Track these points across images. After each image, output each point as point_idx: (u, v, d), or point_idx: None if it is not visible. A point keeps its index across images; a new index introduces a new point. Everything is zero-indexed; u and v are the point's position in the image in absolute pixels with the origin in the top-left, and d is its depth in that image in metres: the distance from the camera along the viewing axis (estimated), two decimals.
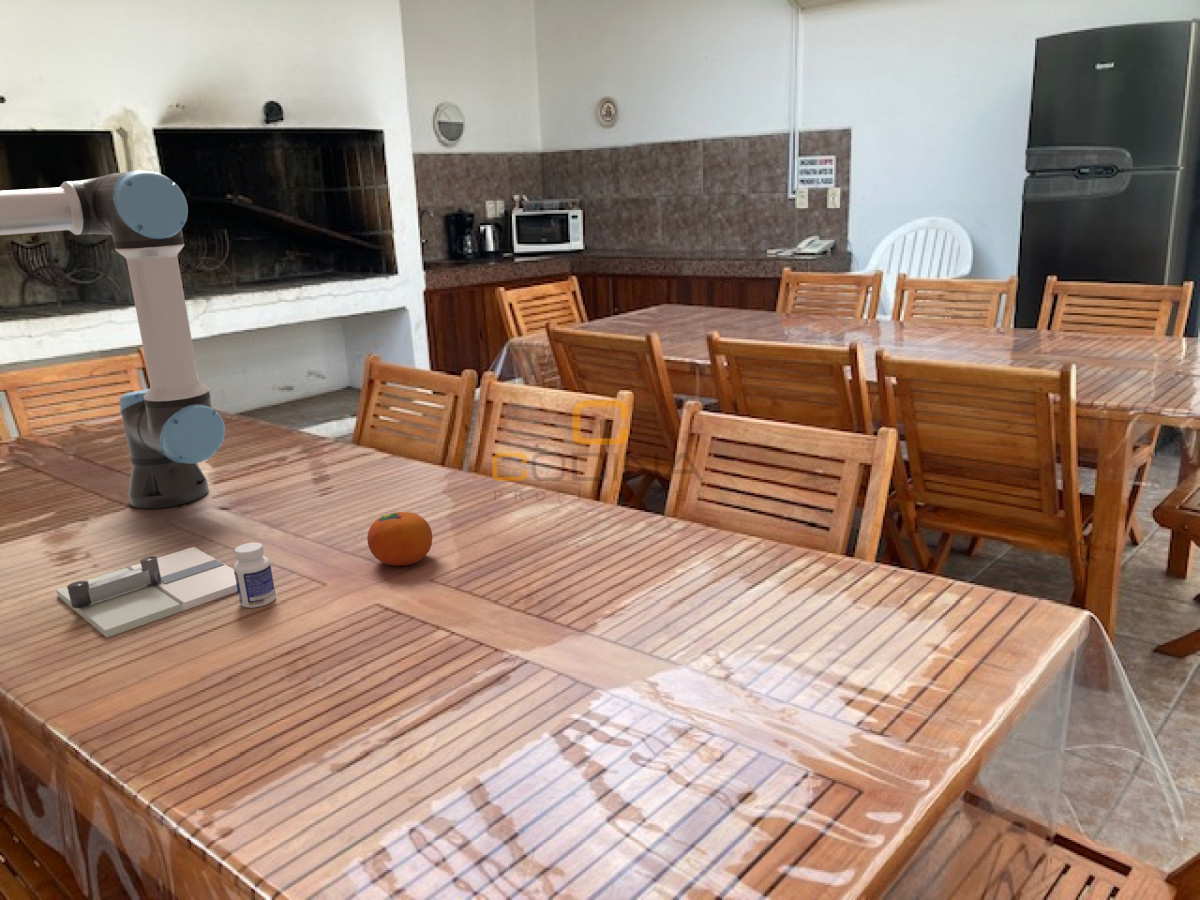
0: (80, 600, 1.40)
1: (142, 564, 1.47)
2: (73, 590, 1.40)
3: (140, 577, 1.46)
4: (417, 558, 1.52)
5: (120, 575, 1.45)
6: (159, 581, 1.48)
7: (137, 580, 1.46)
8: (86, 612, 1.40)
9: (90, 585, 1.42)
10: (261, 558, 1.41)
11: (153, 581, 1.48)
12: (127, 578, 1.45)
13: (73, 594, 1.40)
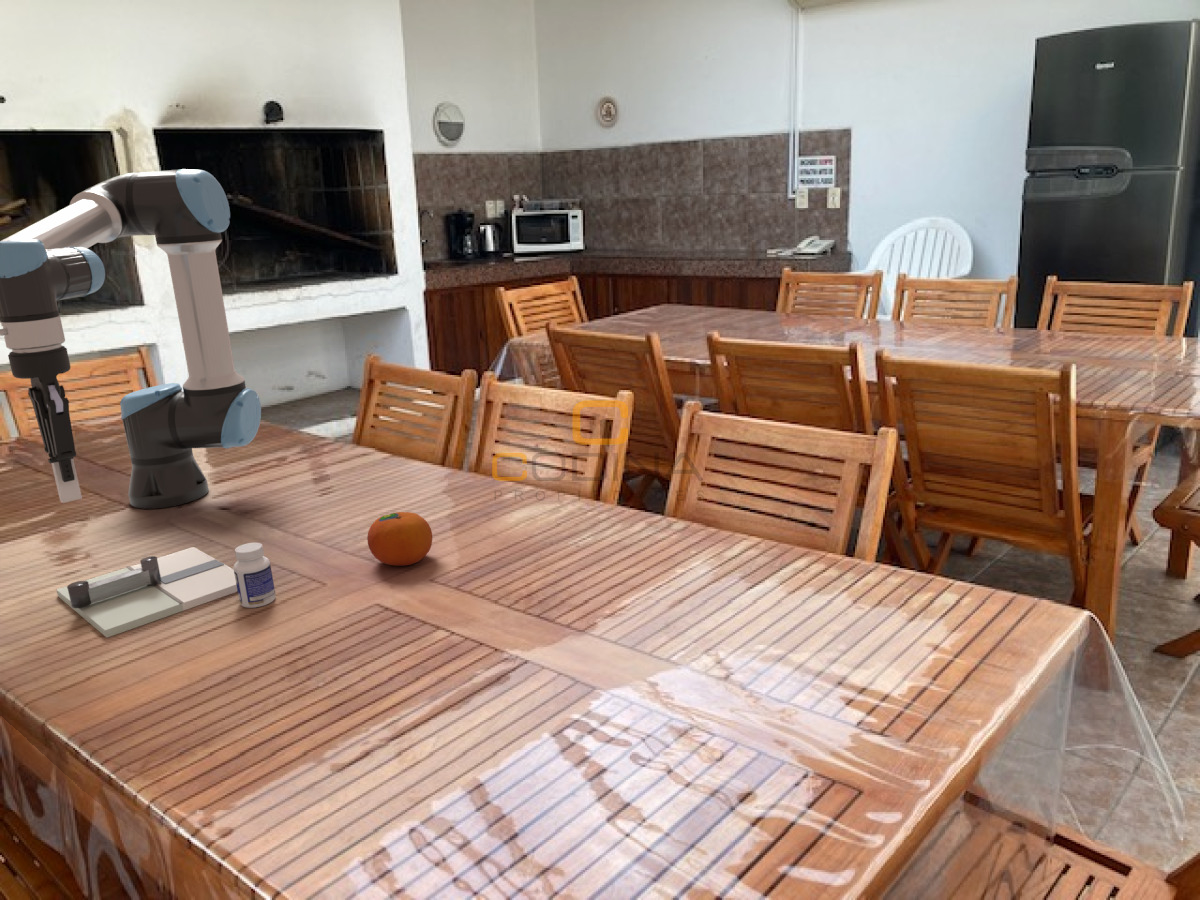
0: (80, 600, 1.40)
1: (142, 564, 1.47)
2: (73, 590, 1.40)
3: (140, 577, 1.46)
4: (417, 558, 1.52)
5: (120, 575, 1.45)
6: (159, 581, 1.48)
7: (137, 580, 1.46)
8: (86, 612, 1.40)
9: (90, 585, 1.42)
10: (261, 558, 1.41)
11: (153, 581, 1.48)
12: (127, 578, 1.45)
13: (73, 594, 1.40)
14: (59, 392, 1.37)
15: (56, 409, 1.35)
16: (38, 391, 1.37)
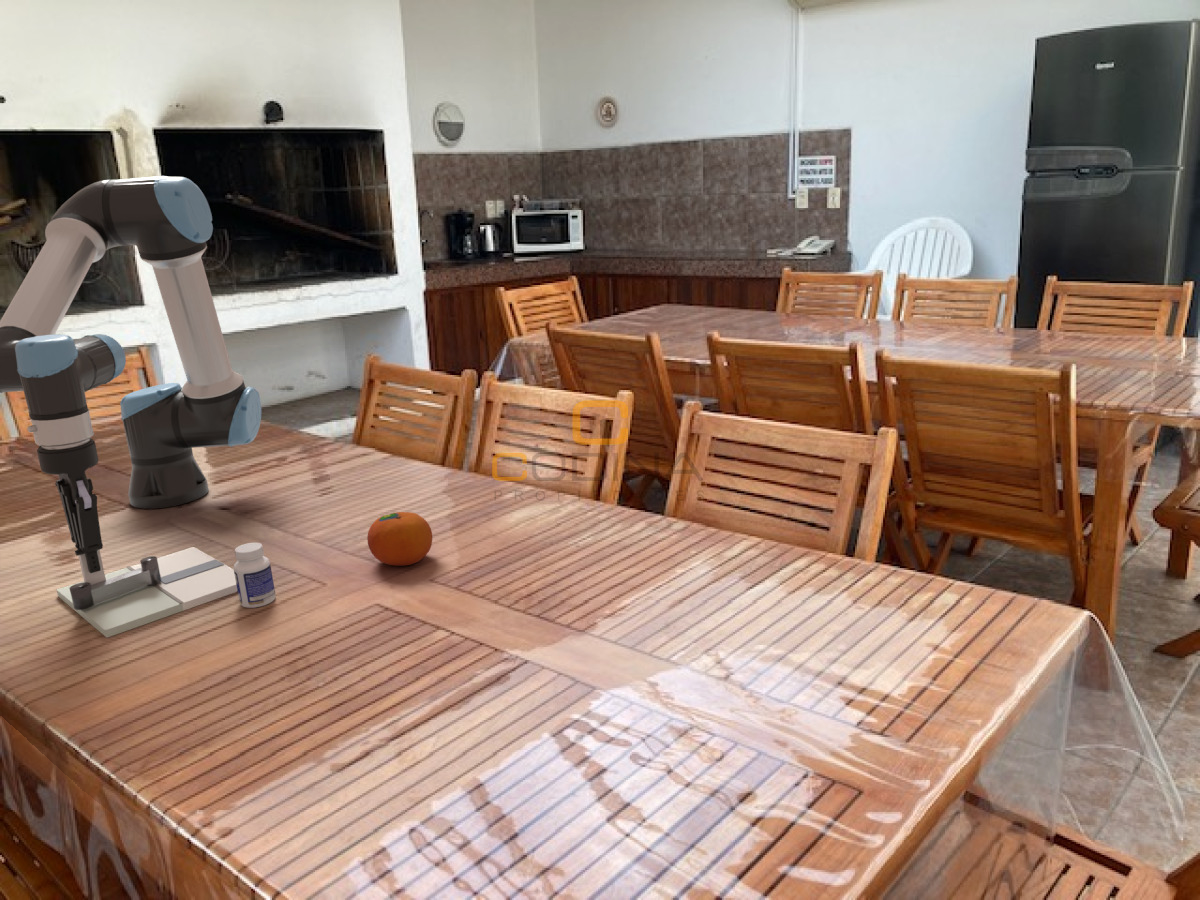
0: (84, 601, 1.40)
1: (142, 564, 1.47)
2: (76, 591, 1.39)
3: (141, 577, 1.46)
4: (417, 558, 1.52)
5: (121, 576, 1.45)
6: (159, 581, 1.49)
7: (138, 580, 1.46)
8: (86, 612, 1.40)
9: (92, 586, 1.42)
10: (261, 558, 1.41)
11: (154, 581, 1.48)
12: (129, 579, 1.45)
13: (76, 596, 1.39)
14: (87, 487, 1.37)
15: (84, 506, 1.35)
16: (66, 486, 1.37)
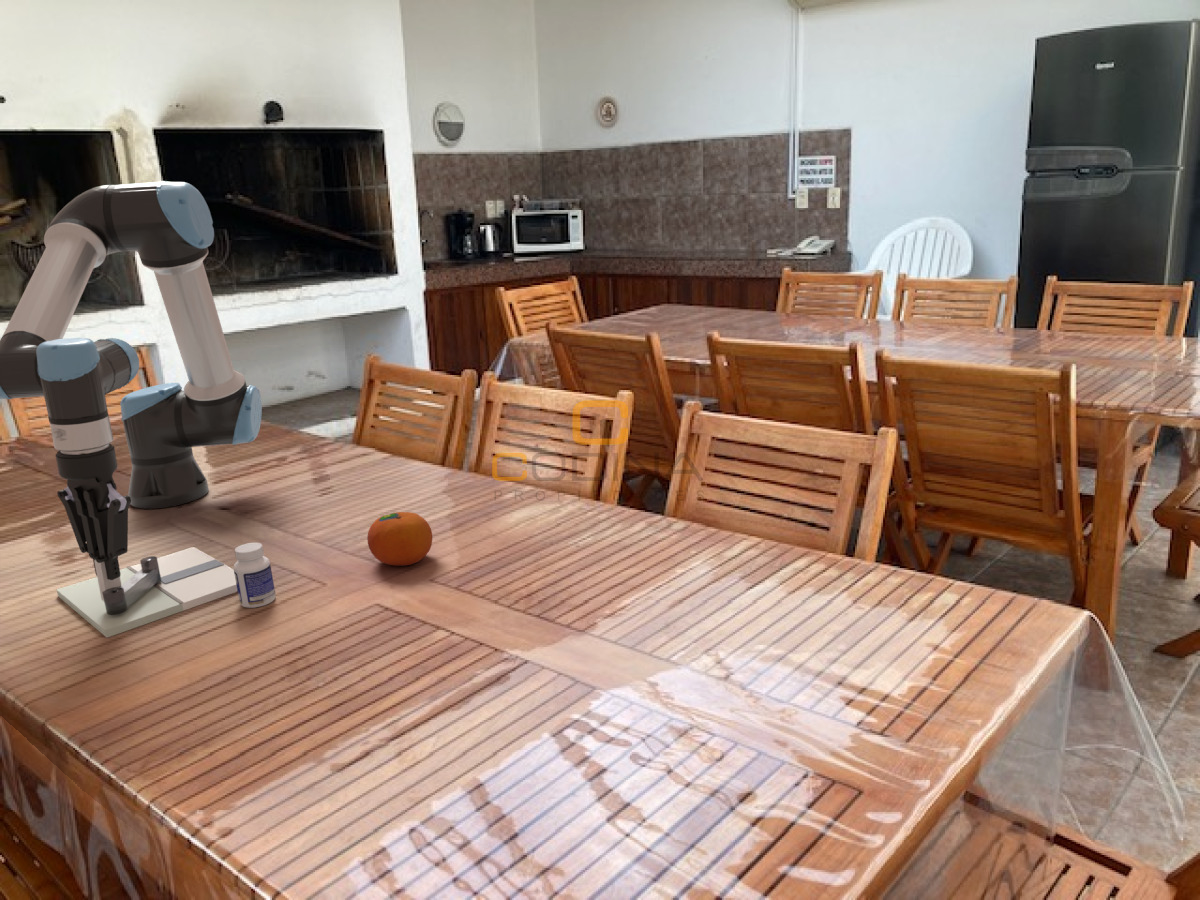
0: (123, 604, 1.38)
1: (147, 564, 1.47)
2: (116, 595, 1.37)
3: (150, 576, 1.46)
4: (417, 558, 1.52)
5: (133, 578, 1.44)
6: None
7: (149, 580, 1.46)
8: (86, 612, 1.40)
9: None
10: (261, 558, 1.41)
11: (158, 579, 1.48)
12: (144, 579, 1.44)
13: (116, 599, 1.37)
14: (115, 490, 1.35)
15: (120, 508, 1.34)
16: (91, 491, 1.34)
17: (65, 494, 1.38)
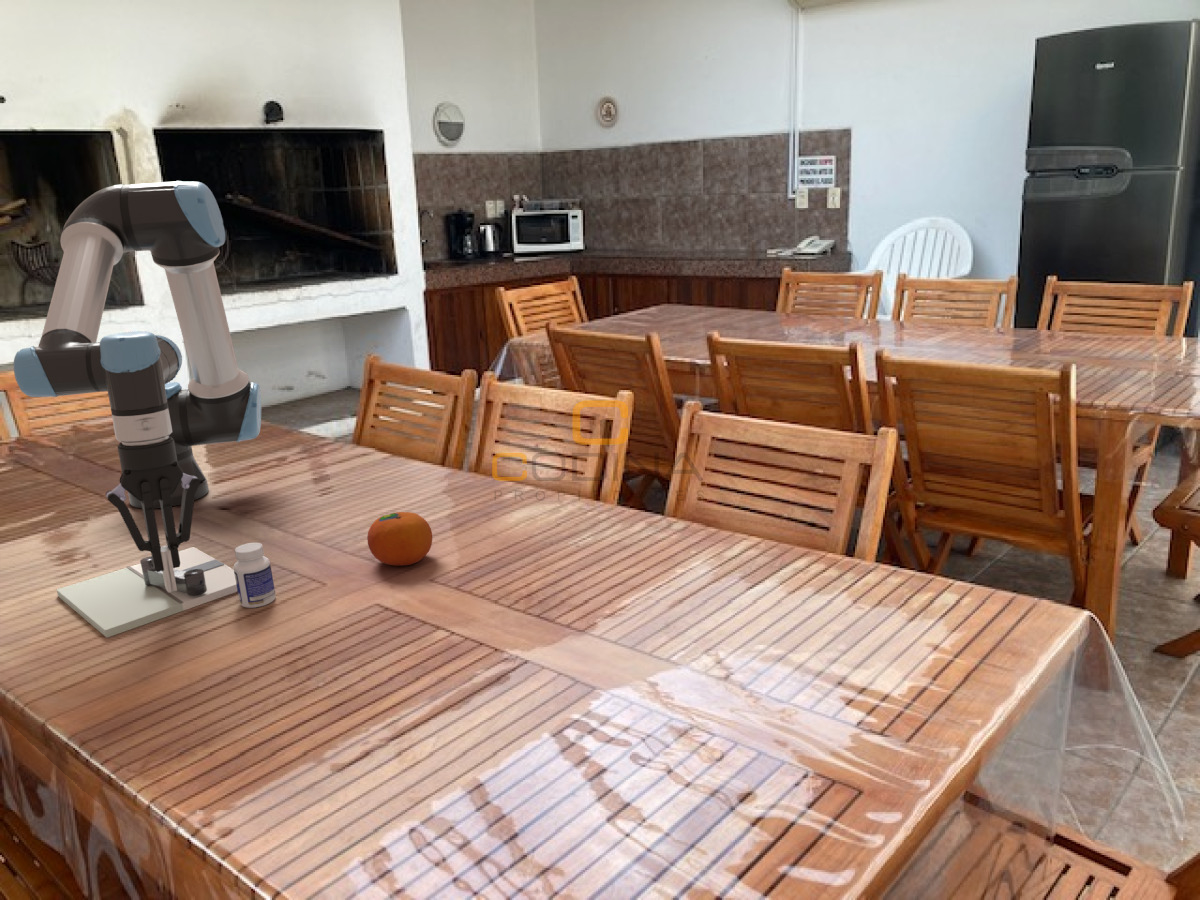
0: None
1: None
2: (203, 573, 1.43)
3: None
4: (417, 558, 1.52)
5: None
6: None
7: None
8: (86, 612, 1.40)
9: None
10: (261, 558, 1.41)
11: None
12: None
13: (204, 577, 1.43)
14: None
15: None
16: (166, 478, 1.38)
17: (117, 496, 1.35)
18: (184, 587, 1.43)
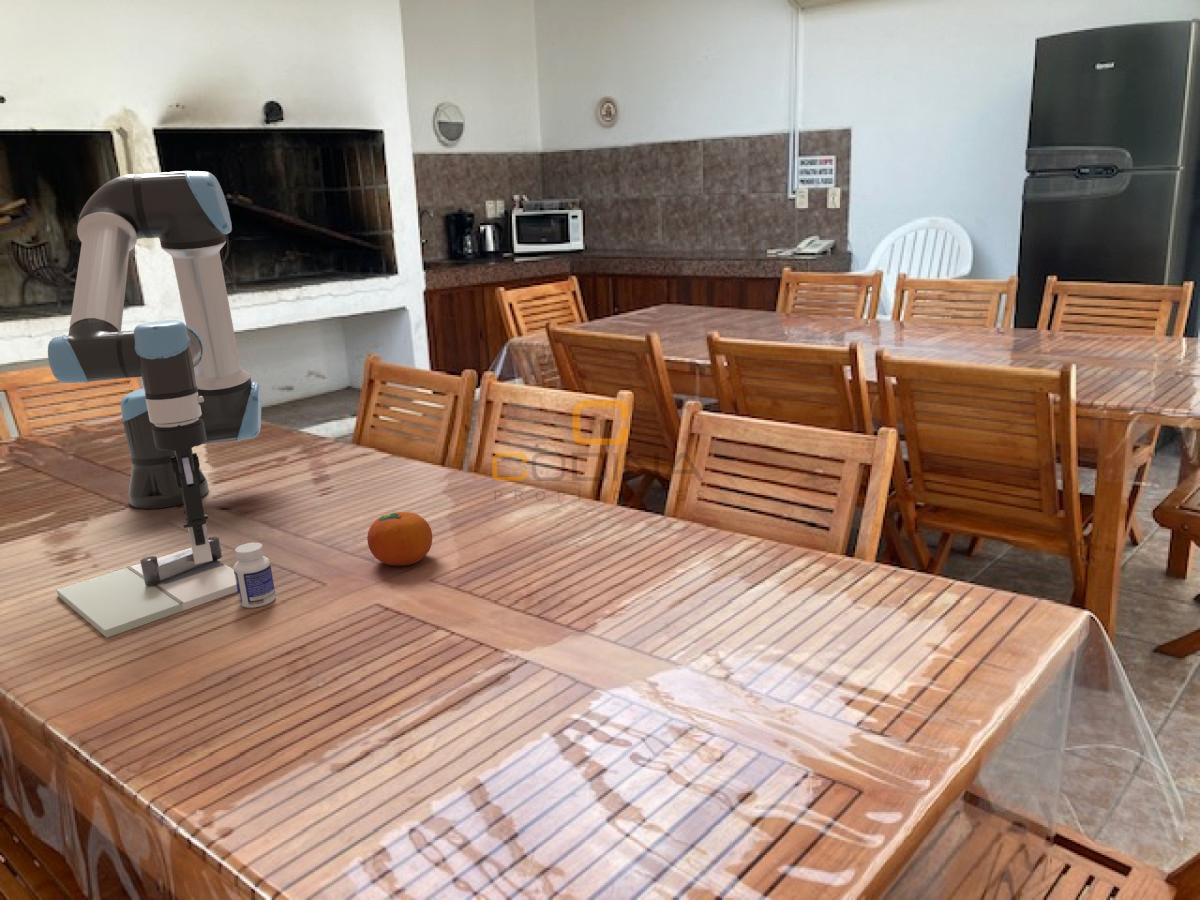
0: None
1: None
2: None
3: None
4: (417, 558, 1.52)
5: (177, 557, 1.51)
6: None
7: None
8: (86, 612, 1.40)
9: None
10: (261, 558, 1.41)
11: None
12: None
13: None
14: None
15: None
16: (192, 454, 1.50)
17: None
18: None
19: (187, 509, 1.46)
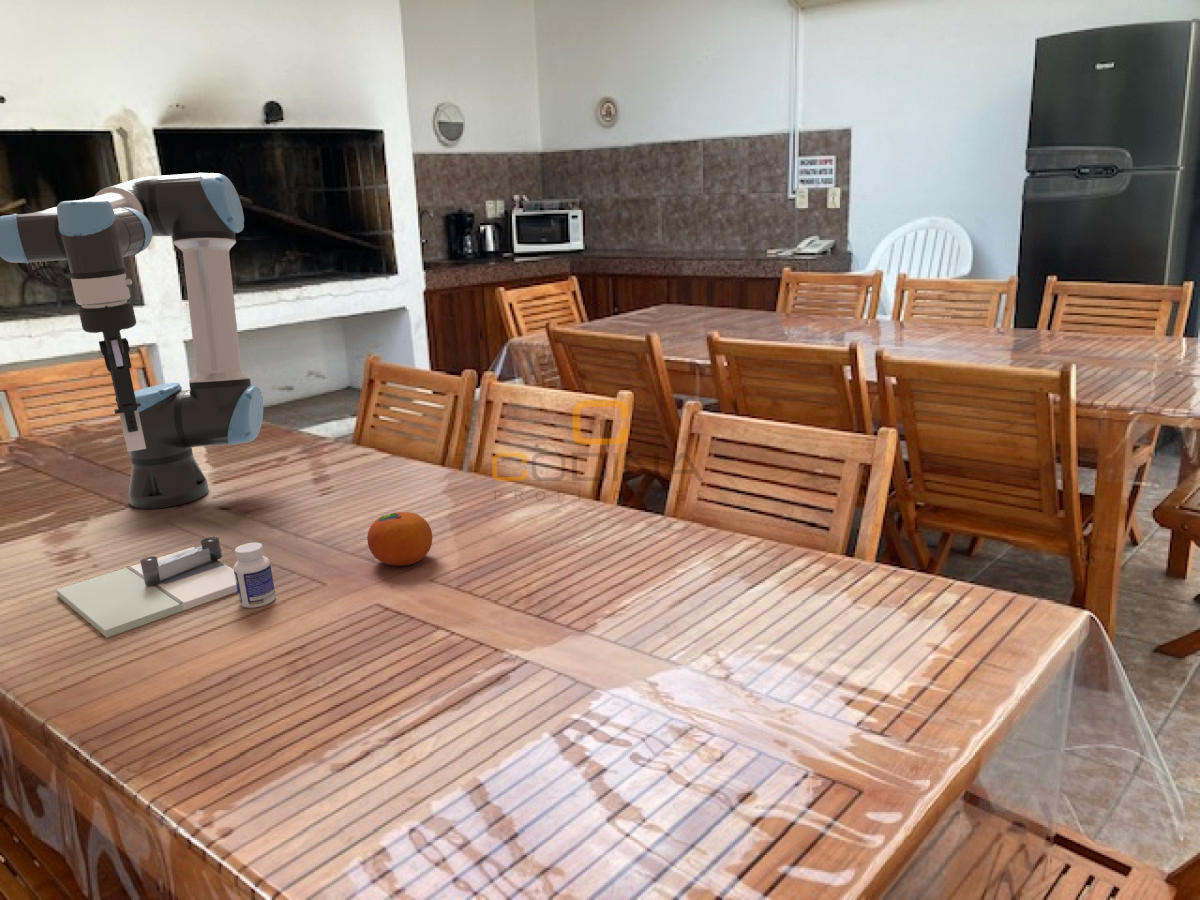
0: None
1: None
2: None
3: None
4: (417, 558, 1.52)
5: (177, 557, 1.51)
6: None
7: None
8: (86, 612, 1.40)
9: (201, 548, 1.55)
10: (261, 558, 1.41)
11: None
12: None
13: None
14: None
15: None
16: (122, 339, 1.48)
17: None
18: (207, 556, 1.55)
19: (117, 393, 1.44)
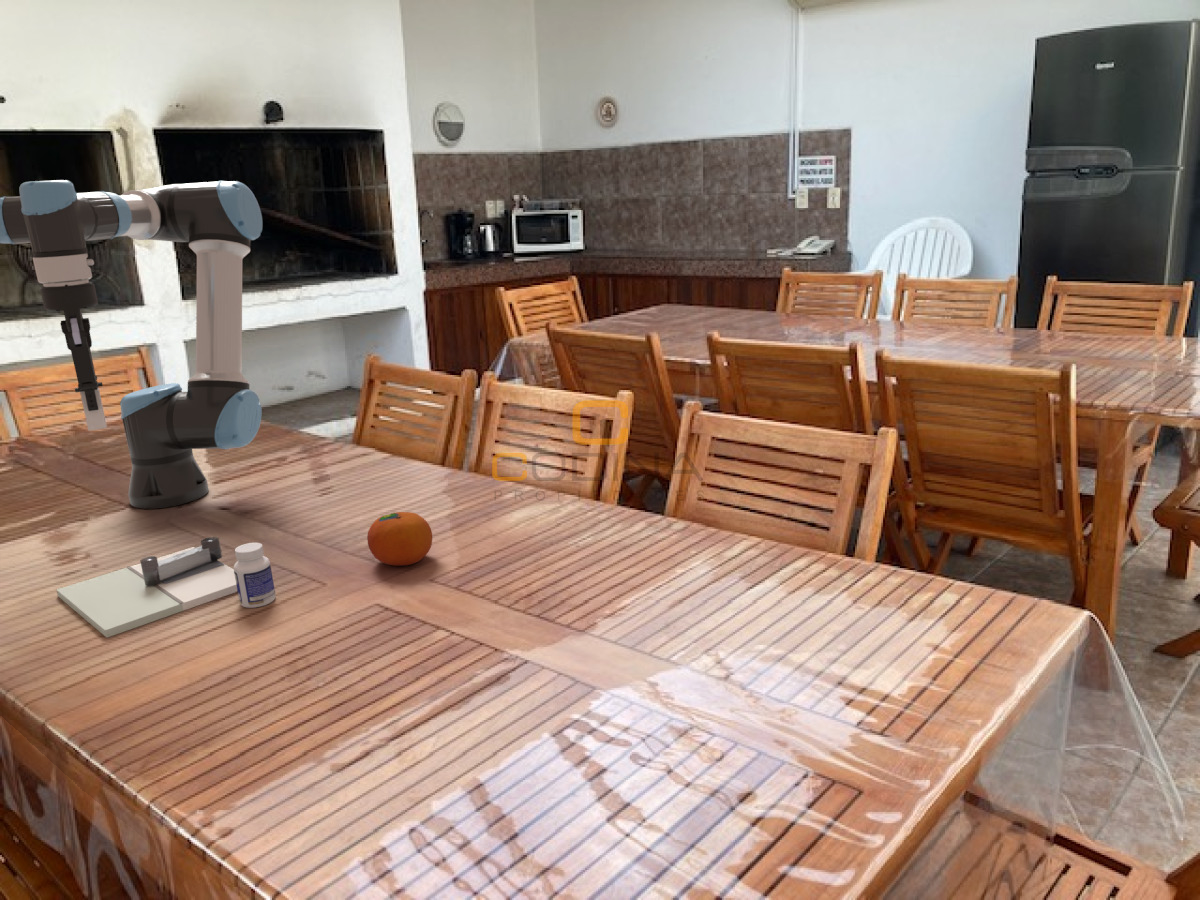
0: None
1: None
2: None
3: None
4: (417, 558, 1.52)
5: (177, 557, 1.51)
6: None
7: None
8: (86, 612, 1.40)
9: (201, 548, 1.55)
10: (261, 558, 1.41)
11: None
12: None
13: None
14: None
15: None
16: None
17: None
18: (207, 556, 1.55)
19: (76, 371, 1.46)
